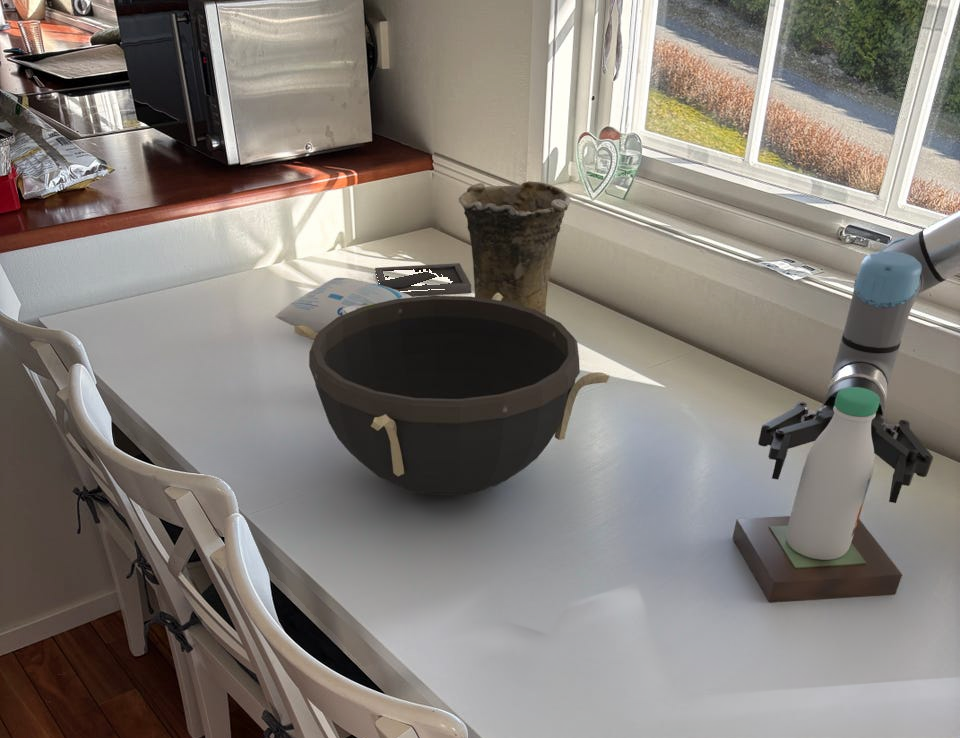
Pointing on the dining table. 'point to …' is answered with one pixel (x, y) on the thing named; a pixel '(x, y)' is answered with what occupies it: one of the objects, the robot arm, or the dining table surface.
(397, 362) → the bowl
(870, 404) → the milk bottle
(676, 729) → the dining table surface
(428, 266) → the picture frame
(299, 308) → the pouch
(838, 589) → the brown wooden platform
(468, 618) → the dining table surface
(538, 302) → the vase
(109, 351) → the dining table surface
